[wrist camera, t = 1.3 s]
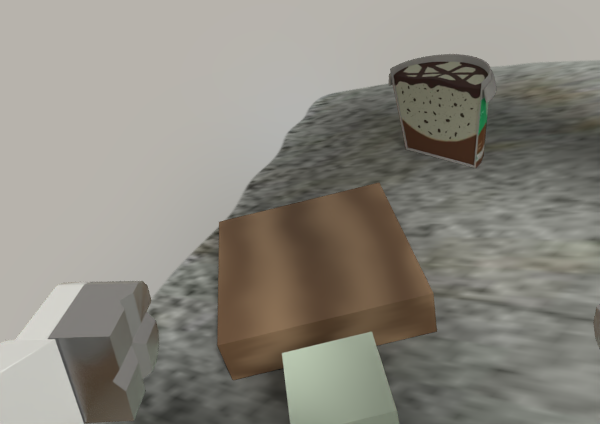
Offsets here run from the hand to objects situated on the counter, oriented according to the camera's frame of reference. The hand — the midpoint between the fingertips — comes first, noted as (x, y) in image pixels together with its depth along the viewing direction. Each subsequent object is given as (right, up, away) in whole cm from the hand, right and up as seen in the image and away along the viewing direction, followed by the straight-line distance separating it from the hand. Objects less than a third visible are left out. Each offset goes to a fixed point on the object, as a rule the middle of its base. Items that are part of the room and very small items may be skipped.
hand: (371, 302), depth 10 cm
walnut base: (0, -5, +37) cm, 38 cm away
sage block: (+3, -15, +22) cm, 27 cm away
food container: (+17, +9, +52) cm, 56 cm away
